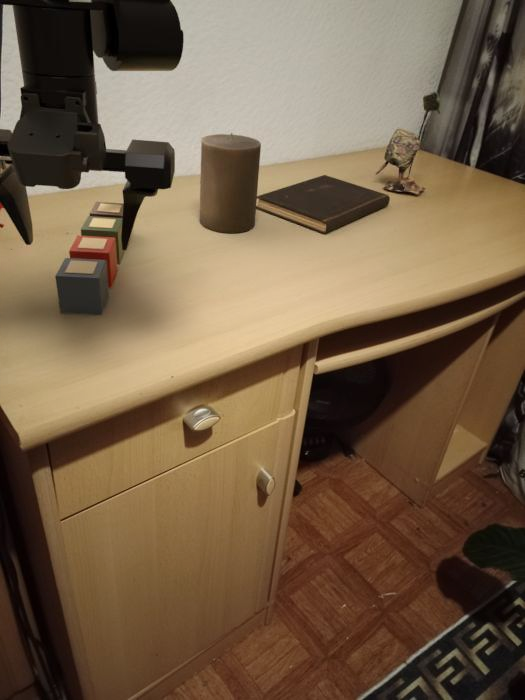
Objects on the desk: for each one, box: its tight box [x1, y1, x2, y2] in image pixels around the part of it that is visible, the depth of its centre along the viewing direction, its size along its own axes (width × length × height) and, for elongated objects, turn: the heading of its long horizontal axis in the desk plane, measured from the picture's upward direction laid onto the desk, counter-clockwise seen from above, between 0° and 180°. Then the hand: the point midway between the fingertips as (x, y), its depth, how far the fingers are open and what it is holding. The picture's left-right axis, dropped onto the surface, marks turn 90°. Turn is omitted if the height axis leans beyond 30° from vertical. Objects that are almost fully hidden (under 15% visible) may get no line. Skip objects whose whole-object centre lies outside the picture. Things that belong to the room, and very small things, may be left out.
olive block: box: [80, 215, 125, 265], centre depth 78 cm, size 5×5×5 cm
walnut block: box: [89, 201, 123, 218], centre depth 83 cm, size 5×5×5 cm
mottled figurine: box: [374, 91, 441, 195], centre depth 114 cm, size 8×11×20 cm
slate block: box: [55, 257, 110, 316], centre depth 66 cm, size 5×5×5 cm
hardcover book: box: [256, 174, 391, 235], centre depth 105 cm, size 16×23×2 cm
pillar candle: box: [199, 132, 262, 234], centre depth 90 cm, size 10×10×15 cm
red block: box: [68, 235, 119, 288], centre depth 72 cm, size 5×5×5 cm
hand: (77, 246), depth 54 cm, fingers open, 9 cm apart
